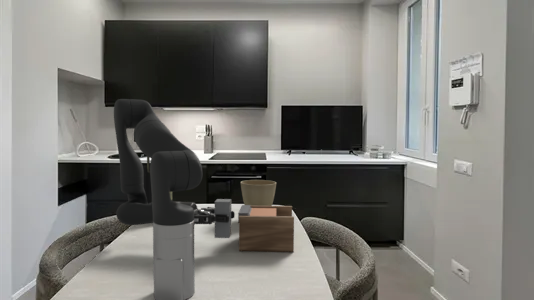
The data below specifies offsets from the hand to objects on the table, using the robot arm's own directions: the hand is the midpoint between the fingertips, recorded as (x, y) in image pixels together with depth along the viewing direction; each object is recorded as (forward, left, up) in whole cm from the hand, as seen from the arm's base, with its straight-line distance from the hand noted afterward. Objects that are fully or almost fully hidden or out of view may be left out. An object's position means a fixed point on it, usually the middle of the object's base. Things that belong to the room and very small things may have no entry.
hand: (231, 216), depth 113 cm
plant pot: (+41, -6, -12) cm, 43 cm away
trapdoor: (+10, -8, -3) cm, 13 cm away
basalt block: (0, +3, -6) cm, 7 cm away
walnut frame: (+10, -11, -11) cm, 18 cm away
